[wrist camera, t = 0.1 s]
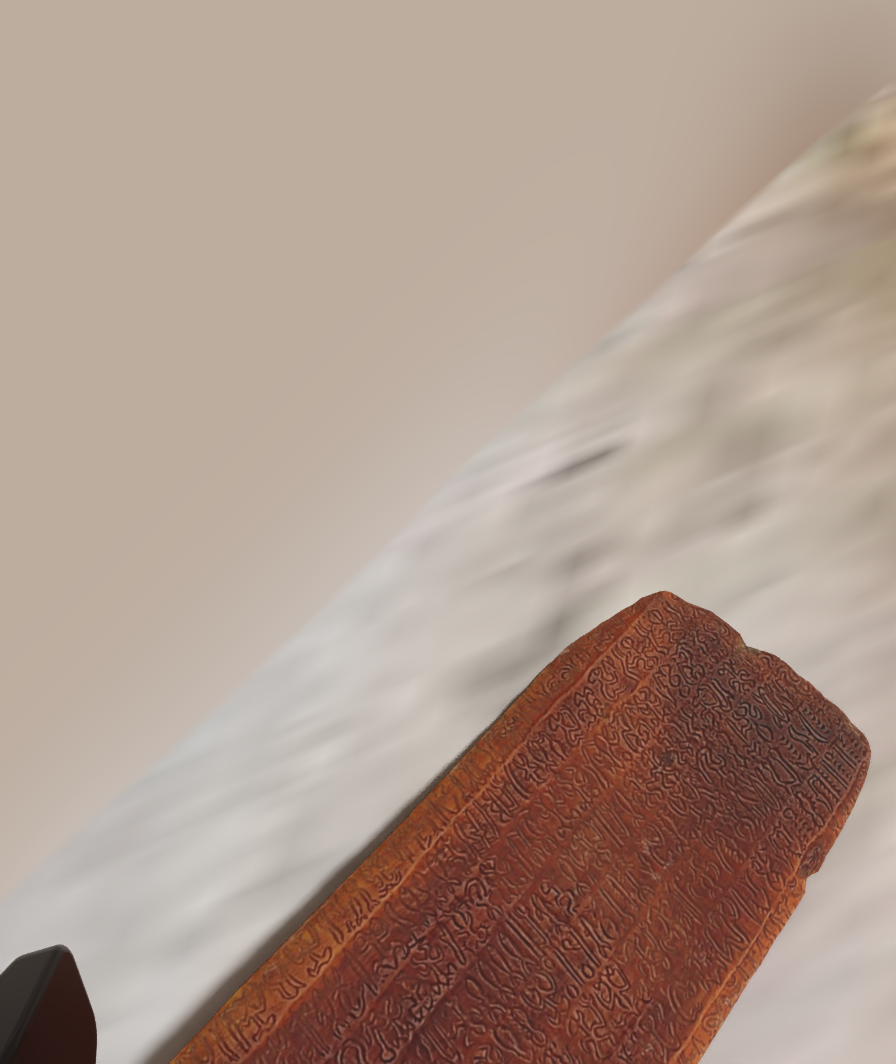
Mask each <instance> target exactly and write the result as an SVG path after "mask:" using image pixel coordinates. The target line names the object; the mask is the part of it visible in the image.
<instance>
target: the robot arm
mask: <svg viewBox="0 0 896 1064" xmlns="http://www.w3.org/2000/svg"><path fill="white" fill-rule="evenodd" d="M96 1050H97V1029H96V1021H95V1017H94V1013H93V1009H92V1007H91V1004H90V1001H89V998H88V995H87V993H86V990H85V987H84V984H83V982H82V979H81V976H80V973H79V970H78V968H77V965H76V962H75V959H74V957H73V954H72V953H71V951H70V950H69V949H68V947H66V946H64V945H55V946H52V947H49V948H45V949H42V950H38V951H35V952H31V953H28V954H25V955H22V956H20V957H18V958H16V959H15V960H14V961H13V962H12V963H11V964H10V965H9V966H8V967H7V968H6V969H5V971H4V972H3V973H2V974H1V975H0V1064H96Z"/></svg>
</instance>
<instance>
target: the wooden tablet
mask: <svg viewBox="0 0 896 1064" xmlns="http://www.w3.org/2000/svg"><path fill="white" fill-rule="evenodd" d="M870 757H871V750H870V746H869V743H868V741H867V739H866V737H865V736H864V734H863V733H862V732H861V731H860V730H858V729H857V728H856V727H855V726H854V725H853V724H852V723H851V722H850V720H849V719H848V717H847V716H846V715H845V714H844V713H843V711H841V710H840V709H839V708H838V707H837V706H836V705H834V704H833V703H832V702H830V701H829V700H828V699H826V698H825V697H824V696H823V695H822V694H821V693H820V692H819V691H818V690H817V689H816V688H815V687H814V686H813V685H812V684H811V683H810V682H809V681H806V680H805V679H803V678H802V677H801V676H799V675H798V674H797V673H796V672H795V671H794V670H793V669H792V668H791V667H790V666H789V665H788V664H787V663H785V662H784V661H782V660H781V659H780V658H778V657H777V656H775V655H773V654H770V653H768V652H765V651H760V650H758V649H755V648H752V647H748V646H746V644H745V643H744V641H743V639H742V637H741V635H740V634H739V633H738V632H737V631H736V630H734V629H733V628H732V627H731V626H730V625H729V624H727V623H726V622H725V621H723V620H722V619H721V618H719V617H718V616H717V615H715V614H714V613H713V612H711V611H709V610H706V609H704V608H701V607H698V606H696V605H693V604H690V603H688V602H686V601H684V600H683V599H681V598H679V597H678V596H676V595H674V594H673V593H671V592H668V591H661V592H657V593H654V594H651V595H648V596H646V597H643V598H641V599H640V600H638V601H637V602H636V603H634V604H633V605H631V606H629V607H627V608H625V609H623V610H622V611H620V612H619V613H617V614H616V615H614V616H613V617H611V618H610V619H608V620H606V621H604V622H602V623H601V624H599V625H598V626H597V627H596V628H594V629H593V630H591V631H590V632H588V633H587V634H585V635H583V636H582V637H580V638H579V639H577V640H576V641H575V642H573V643H572V644H570V645H569V646H568V647H566V648H565V649H564V650H563V651H562V652H561V653H560V654H559V655H558V656H557V657H556V658H555V659H554V661H552V662H551V663H550V664H549V665H548V666H547V667H546V668H545V669H544V670H543V671H542V672H541V673H540V674H539V675H538V676H537V678H536V679H535V680H534V681H533V682H532V683H531V684H530V686H529V687H528V688H527V689H526V690H525V691H524V692H523V694H522V695H521V696H520V697H519V698H518V699H517V700H516V701H515V702H514V703H513V704H512V705H511V706H510V707H509V708H508V710H507V711H506V712H505V713H504V714H503V716H502V717H501V718H500V719H499V720H498V721H497V722H496V723H495V724H494V725H493V726H492V727H491V728H490V730H489V731H488V732H487V733H486V734H485V735H484V736H483V737H482V738H481V739H480V740H479V741H478V742H477V743H476V744H475V746H474V747H472V748H471V749H470V750H468V752H467V753H466V754H465V755H464V756H463V758H462V759H461V760H460V761H459V762H458V763H457V764H456V765H455V766H454V767H453V768H452V769H451V771H450V772H449V773H448V774H447V775H446V777H445V778H444V779H442V780H441V781H440V782H439V783H438V784H437V785H436V786H435V788H434V789H433V790H432V791H431V792H430V793H429V795H428V796H427V797H426V798H425V799H424V800H423V801H422V802H421V803H420V804H419V805H418V806H417V807H416V808H415V809H414V810H413V811H412V813H411V814H410V816H409V817H408V818H407V819H406V820H404V821H403V822H402V823H401V824H400V825H399V826H398V827H397V828H396V829H395V830H394V831H393V832H392V833H391V834H390V835H389V837H388V838H387V839H386V840H385V841H384V842H383V843H382V844H381V845H380V846H379V847H378V848H377V849H376V850H375V851H374V852H373V853H372V854H371V855H370V856H369V857H368V858H367V859H366V860H365V861H364V862H363V863H362V864H361V865H360V866H359V867H358V868H357V869H356V870H355V871H354V872H353V873H352V874H351V875H350V876H349V877H348V878H347V879H346V880H345V881H344V882H343V883H342V884H341V885H340V886H339V887H338V888H337V889H336V890H335V891H334V892H333V893H332V894H331V895H330V896H329V897H328V898H327V899H326V900H325V901H324V903H323V904H322V905H321V906H320V907H319V908H318V909H317V910H316V911H315V912H314V913H313V914H312V915H311V916H310V917H309V918H308V919H307V920H306V921H305V922H304V923H303V924H302V925H301V926H300V928H299V929H298V930H297V931H296V932H295V933H294V934H293V935H292V936H291V937H290V938H289V939H288V940H286V941H285V942H284V943H283V944H282V946H281V947H280V948H279V949H278V950H277V951H276V952H275V953H274V954H273V955H272V956H271V957H270V958H269V959H268V960H267V961H266V962H265V963H264V964H263V965H262V966H261V967H260V968H259V969H258V970H257V971H256V972H255V973H254V974H253V975H252V976H251V977H250V978H249V979H248V980H247V981H246V982H245V983H244V984H243V985H242V986H241V987H240V988H239V989H238V991H237V992H236V993H235V994H234V995H233V996H232V997H231V998H230V999H229V1000H228V1001H227V1002H226V1003H225V1004H224V1006H223V1007H222V1008H221V1009H220V1010H219V1011H218V1012H217V1013H216V1014H215V1015H214V1017H213V1018H212V1019H211V1020H210V1021H209V1022H208V1023H207V1024H206V1025H205V1026H204V1027H203V1028H202V1029H201V1030H200V1032H199V1033H198V1034H197V1035H196V1036H195V1037H194V1038H193V1039H192V1040H191V1041H190V1042H189V1043H188V1044H187V1045H186V1046H185V1047H184V1048H183V1049H182V1050H181V1051H180V1052H179V1053H178V1054H177V1055H176V1056H175V1058H174V1059H173V1060H172V1061H171V1062H170V1063H169V1064H698V1062H699V1061H700V1059H701V1058H702V1056H703V1054H704V1053H705V1051H706V1050H707V1048H708V1046H709V1045H710V1043H711V1041H712V1040H713V1038H714V1037H715V1035H716V1034H717V1032H718V1030H719V1029H720V1027H721V1026H722V1024H723V1022H724V1021H725V1019H726V1017H727V1016H728V1014H729V1012H730V1011H731V1009H732V1007H733V1006H734V1004H735V1003H736V1001H737V1000H738V998H739V996H740V995H741V993H742V992H743V990H744V988H745V987H746V985H747V984H748V982H749V980H750V979H751V977H752V976H753V975H754V973H755V972H756V970H757V969H758V968H759V966H760V965H761V963H762V961H763V959H764V958H765V956H766V954H767V953H768V951H769V949H770V947H771V946H772V944H773V942H774V940H775V939H776V937H777V936H778V935H779V933H780V932H781V930H782V929H783V928H784V926H785V924H786V922H787V921H788V919H789V918H790V916H791V915H792V913H793V912H794V910H795V909H796V907H797V906H798V904H799V902H800V900H801V899H802V897H803V895H804V893H805V886H806V879H807V877H809V876H810V875H812V874H814V873H816V872H818V871H819V869H820V867H821V865H822V864H823V862H824V859H825V857H826V855H827V853H828V852H829V850H830V849H831V847H832V846H833V844H834V842H835V840H836V839H837V837H838V835H839V834H840V832H841V830H842V829H843V827H844V825H845V822H846V820H847V819H848V817H849V815H850V813H851V811H852V809H853V807H854V805H855V803H856V800H857V798H858V795H859V793H860V791H861V789H862V787H863V784H864V781H865V778H866V775H867V772H868V768H869V763H870Z"/></svg>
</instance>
